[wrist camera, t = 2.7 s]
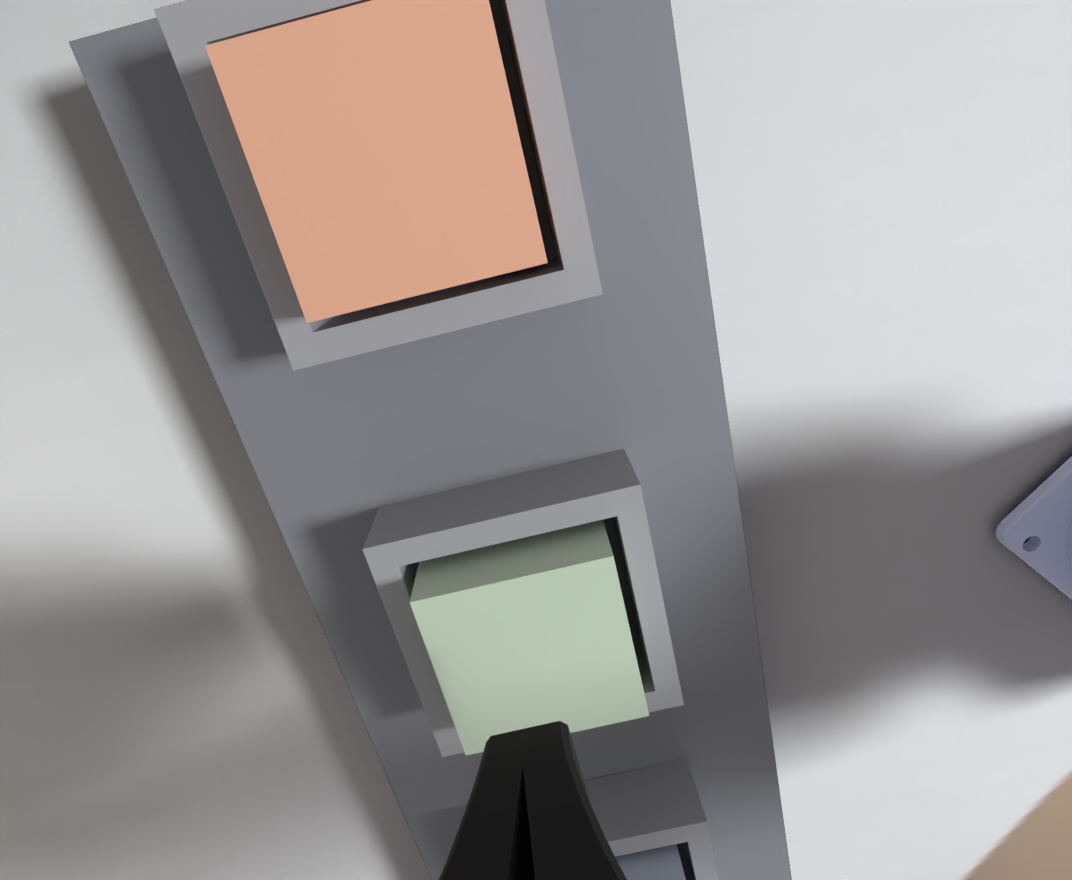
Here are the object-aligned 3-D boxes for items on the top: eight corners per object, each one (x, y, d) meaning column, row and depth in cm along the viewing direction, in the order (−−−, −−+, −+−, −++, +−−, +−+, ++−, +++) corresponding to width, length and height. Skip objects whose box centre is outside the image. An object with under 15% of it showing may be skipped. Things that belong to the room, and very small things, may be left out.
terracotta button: (542, 252, 13) (547, 263, 11) (335, 304, 13) (306, 323, 11) (486, 7, 11) (482, -30, 9) (254, 69, 11) (204, 45, 10)
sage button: (632, 655, 16) (649, 715, 14) (470, 691, 16) (465, 755, 15) (599, 510, 15) (613, 555, 13) (421, 551, 15) (409, 602, 13)
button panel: (764, 820, 24) (820, 957, 19) (468, 881, 24) (460, 1028, 20) (629, -67, 14) (681, -179, 10) (139, 65, 14) (-12, 14, 10)
